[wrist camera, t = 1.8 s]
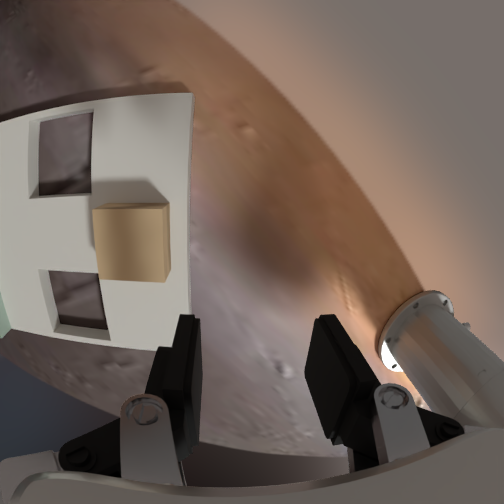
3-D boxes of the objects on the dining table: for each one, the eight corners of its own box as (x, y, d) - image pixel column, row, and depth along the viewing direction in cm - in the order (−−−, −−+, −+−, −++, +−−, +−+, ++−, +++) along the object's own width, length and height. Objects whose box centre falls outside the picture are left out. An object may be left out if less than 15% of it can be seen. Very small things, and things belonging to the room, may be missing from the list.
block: (169, 202, 24) (162, 209, 21) (171, 268, 25) (165, 282, 23) (106, 203, 23) (92, 209, 20) (111, 266, 25) (99, 279, 22)
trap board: (195, 97, 23) (188, 85, 18) (193, 341, 30) (189, 368, 26) (-10, 129, 20) (-34, 130, 16) (14, 319, 28) (-3, 336, 24)
